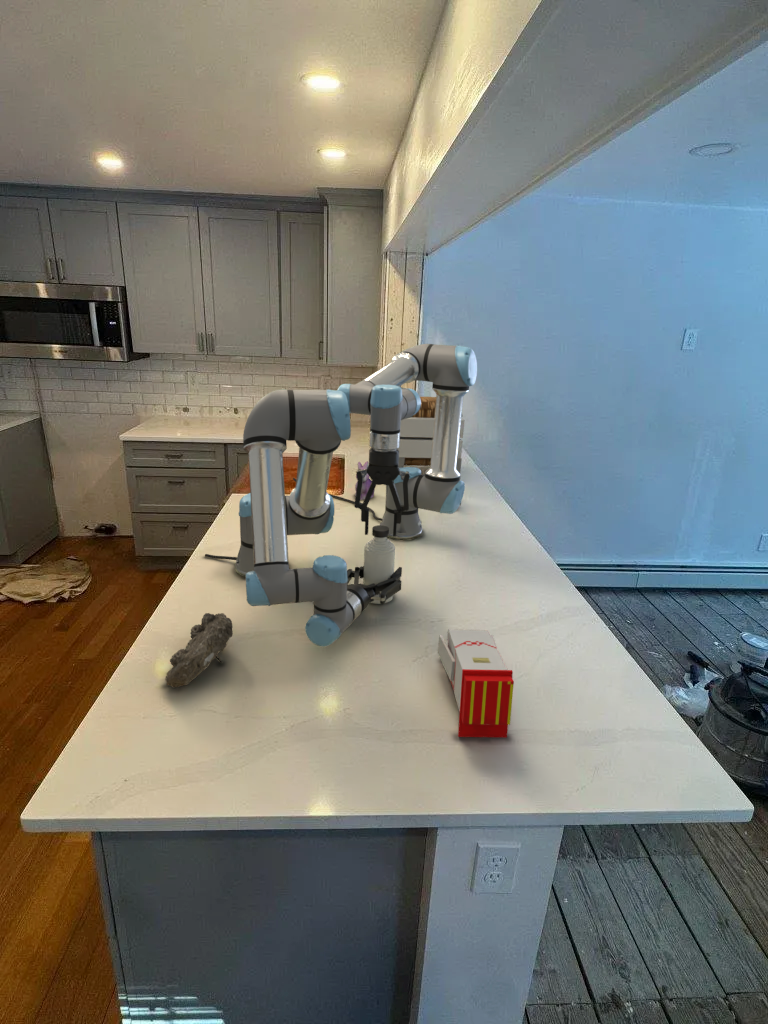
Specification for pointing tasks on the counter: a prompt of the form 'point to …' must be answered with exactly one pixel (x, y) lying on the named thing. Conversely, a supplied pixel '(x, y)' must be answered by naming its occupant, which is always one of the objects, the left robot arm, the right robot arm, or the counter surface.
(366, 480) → the figurine
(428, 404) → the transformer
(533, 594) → the counter surface
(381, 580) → the bottle
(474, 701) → the toy
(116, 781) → the counter surface
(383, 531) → the cap
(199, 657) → the fossil
